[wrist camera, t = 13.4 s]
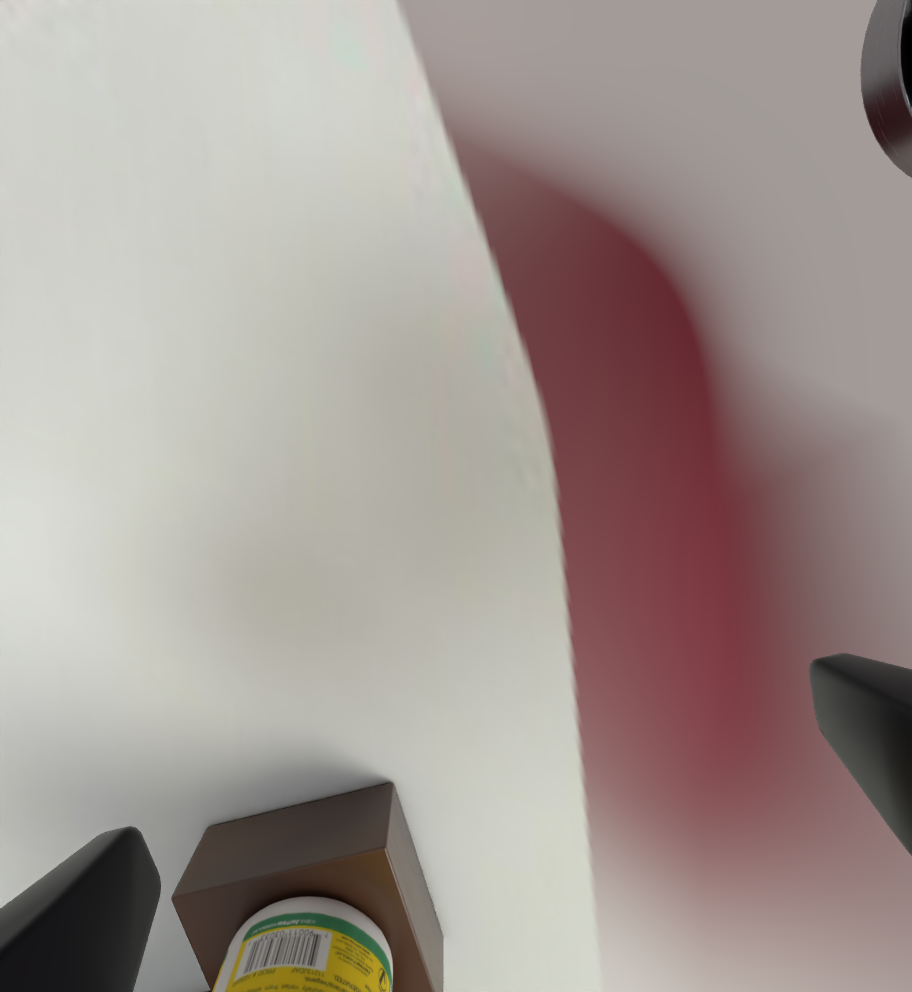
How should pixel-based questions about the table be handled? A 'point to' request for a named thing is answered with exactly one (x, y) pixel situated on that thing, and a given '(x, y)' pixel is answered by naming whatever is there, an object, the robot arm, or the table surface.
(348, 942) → the supplement bottle
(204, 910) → the step shelf
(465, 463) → the table surface
